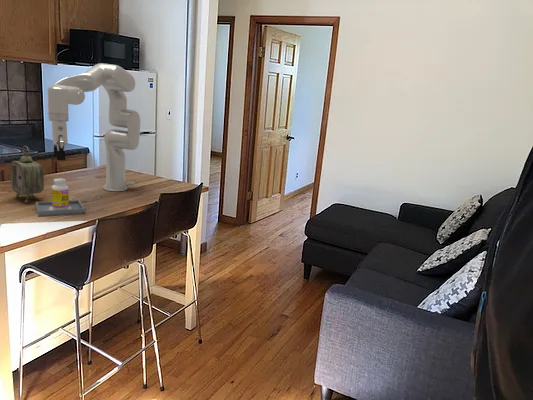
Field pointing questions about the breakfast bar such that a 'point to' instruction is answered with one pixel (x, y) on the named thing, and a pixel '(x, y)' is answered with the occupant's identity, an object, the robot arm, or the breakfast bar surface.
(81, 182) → the breakfast bar surface
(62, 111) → the robot arm
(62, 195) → the supplement bottle
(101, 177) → the breakfast bar surface
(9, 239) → the breakfast bar surface
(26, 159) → the tabletop clock
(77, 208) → the tray
